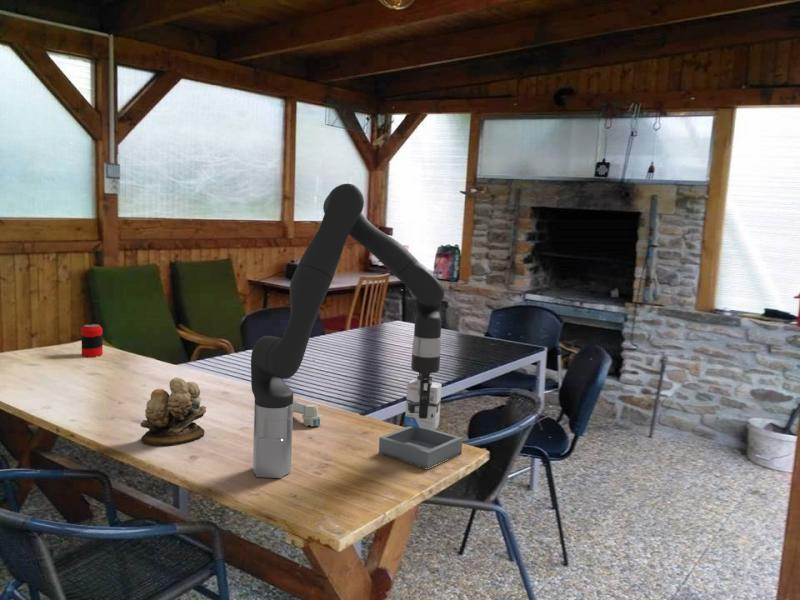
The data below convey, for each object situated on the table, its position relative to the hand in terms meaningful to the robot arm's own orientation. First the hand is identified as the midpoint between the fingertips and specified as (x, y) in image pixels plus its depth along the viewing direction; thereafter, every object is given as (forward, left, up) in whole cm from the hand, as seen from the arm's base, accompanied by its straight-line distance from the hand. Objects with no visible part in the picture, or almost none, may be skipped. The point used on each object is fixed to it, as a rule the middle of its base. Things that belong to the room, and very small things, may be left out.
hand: (422, 414), depth 188 cm
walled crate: (0, 0, -11) cm, 11 cm away
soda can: (+90, +127, -11) cm, 156 cm away
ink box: (0, 0, -3) cm, 3 cm away
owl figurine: (+3, +67, -11) cm, 68 cm away
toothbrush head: (+27, +38, -12) cm, 48 cm away
